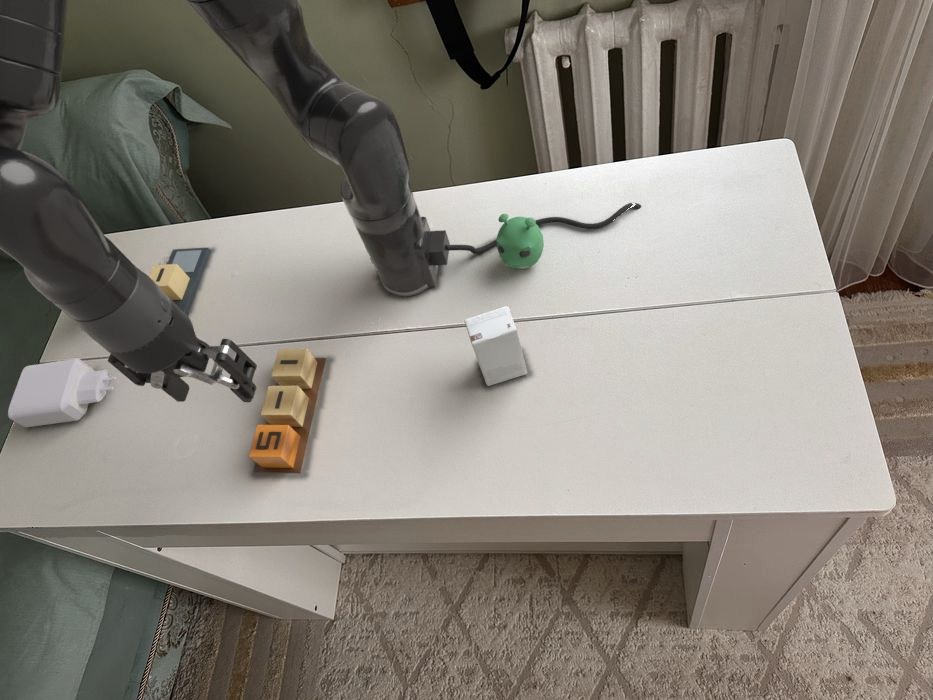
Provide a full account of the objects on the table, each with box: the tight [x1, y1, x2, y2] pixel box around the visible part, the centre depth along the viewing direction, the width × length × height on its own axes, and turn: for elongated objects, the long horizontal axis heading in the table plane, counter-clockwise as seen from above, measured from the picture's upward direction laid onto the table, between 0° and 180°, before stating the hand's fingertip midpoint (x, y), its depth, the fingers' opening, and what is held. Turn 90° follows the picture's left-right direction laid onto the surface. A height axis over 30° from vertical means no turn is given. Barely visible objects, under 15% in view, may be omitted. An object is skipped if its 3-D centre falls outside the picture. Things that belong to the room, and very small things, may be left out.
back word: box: [148, 247, 212, 316], centre depth 105 cm, size 18×7×5 cm, turn 175°
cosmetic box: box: [464, 305, 528, 387], centre depth 83 cm, size 6×4×12 cm
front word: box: [253, 348, 327, 474], centre depth 88 cm, size 18×7×5 cm, turn 175°
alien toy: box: [495, 213, 545, 270], centre depth 93 cm, size 7×8×10 cm
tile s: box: [248, 424, 300, 468], centre depth 85 cm, size 5×5×4 cm
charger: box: [7, 357, 117, 428], centre depth 97 cm, size 5×9×15 cm
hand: (217, 395), depth 74 cm, fingers open, 8 cm apart
